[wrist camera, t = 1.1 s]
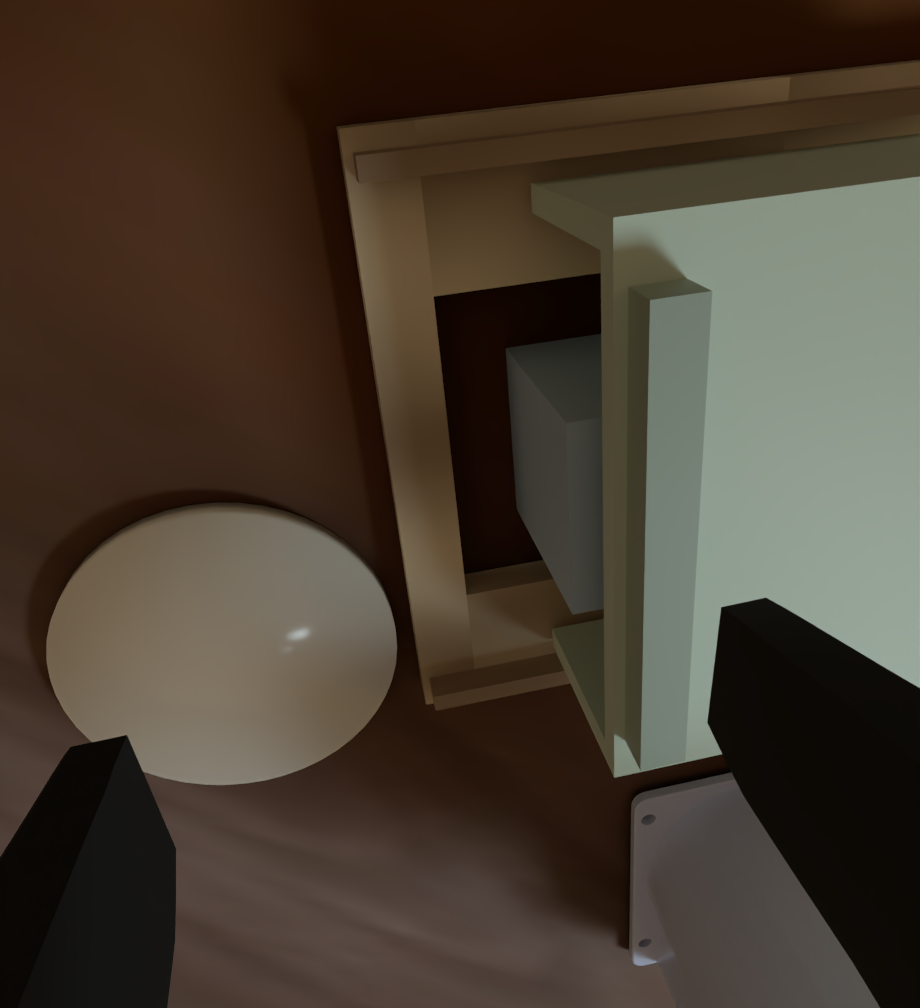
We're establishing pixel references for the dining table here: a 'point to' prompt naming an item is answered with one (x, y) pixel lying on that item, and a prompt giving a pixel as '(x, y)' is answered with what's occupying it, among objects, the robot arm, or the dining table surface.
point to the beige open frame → (519, 260)
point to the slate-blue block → (561, 460)
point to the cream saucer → (223, 643)
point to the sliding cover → (748, 421)
